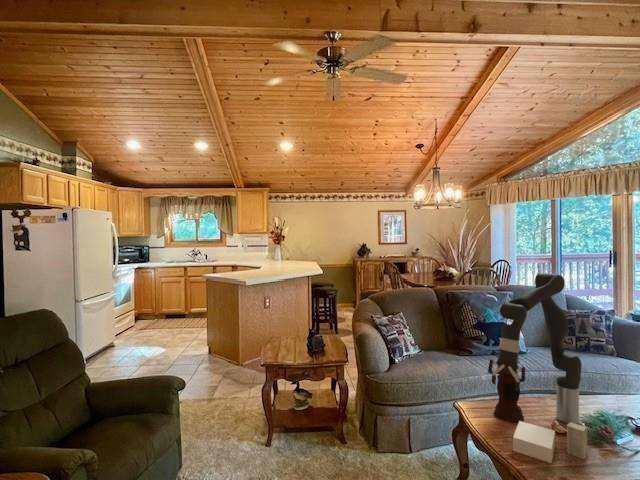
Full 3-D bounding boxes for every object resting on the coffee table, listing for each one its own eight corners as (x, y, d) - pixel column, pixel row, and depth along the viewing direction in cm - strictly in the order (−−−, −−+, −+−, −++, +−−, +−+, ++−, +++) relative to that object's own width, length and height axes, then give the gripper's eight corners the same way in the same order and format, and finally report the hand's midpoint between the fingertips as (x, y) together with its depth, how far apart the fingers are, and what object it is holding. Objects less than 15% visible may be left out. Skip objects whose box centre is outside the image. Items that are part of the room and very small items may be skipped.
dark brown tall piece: (513, 427, 172) (512, 366, 171) (486, 415, 184) (485, 357, 183) (531, 416, 182) (531, 358, 181) (504, 405, 193) (504, 350, 192)
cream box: (519, 433, 167) (519, 420, 167) (555, 444, 159) (555, 430, 159) (513, 450, 155) (512, 437, 155) (551, 463, 146) (551, 448, 146)
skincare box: (587, 455, 150) (587, 427, 150) (584, 460, 148) (584, 431, 147) (570, 448, 155) (570, 421, 155) (566, 452, 153) (566, 424, 152)
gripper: (528, 353, 155) (524, 391, 153) (492, 345, 164) (488, 381, 162) (526, 354, 149) (522, 394, 147) (489, 346, 158) (485, 383, 156)
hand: (504, 387), depth 155 cm, fingers open, 8 cm apart
